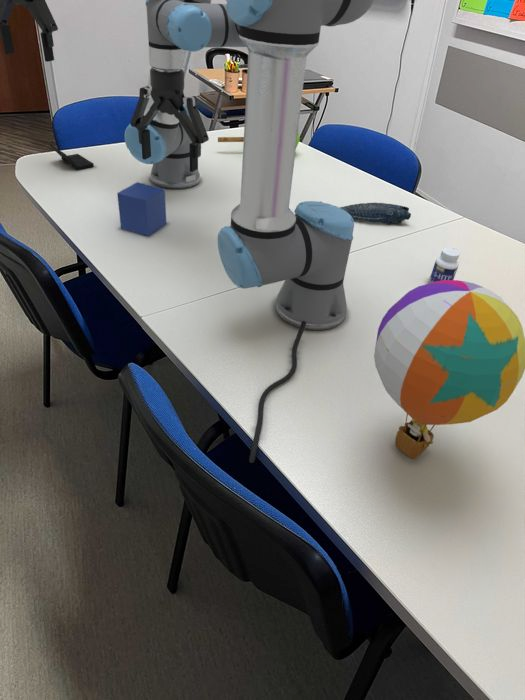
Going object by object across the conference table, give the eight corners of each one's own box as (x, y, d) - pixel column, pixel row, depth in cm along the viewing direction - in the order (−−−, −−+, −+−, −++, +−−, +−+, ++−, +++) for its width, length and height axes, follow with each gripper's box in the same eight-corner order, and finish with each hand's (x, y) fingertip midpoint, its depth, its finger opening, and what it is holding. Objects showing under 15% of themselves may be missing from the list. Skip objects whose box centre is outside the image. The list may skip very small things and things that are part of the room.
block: (166, 223, 140) (164, 189, 134) (148, 236, 134) (145, 200, 128) (139, 216, 143) (137, 182, 137) (120, 228, 136) (117, 193, 130)
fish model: (409, 228, 149) (414, 212, 146) (336, 220, 150) (339, 204, 147) (407, 219, 154) (411, 203, 151) (336, 211, 155) (339, 195, 152)
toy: (324, 440, 84) (359, 279, 65) (398, 390, 94) (447, 240, 76) (424, 525, 73) (502, 362, 54) (495, 458, 83) (581, 302, 65)
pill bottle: (427, 286, 124) (438, 253, 119) (429, 276, 128) (440, 244, 122) (450, 292, 123) (461, 259, 117) (451, 281, 127) (463, 249, 121)
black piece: (98, 159, 169) (76, 137, 160) (86, 177, 167) (64, 156, 159) (77, 155, 175) (55, 133, 167) (66, 172, 174) (43, 151, 165)
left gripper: (63, -35, 128) (76, 61, 141) (-16, -45, 134) (4, 48, 148) (41, -35, 122) (57, 66, 135) (-39, -46, 129) (-17, 51, 142)
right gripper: (224, 75, 114) (221, 170, 128) (130, 56, 121) (136, 148, 134) (208, 81, 109) (206, 180, 122) (109, 61, 116) (118, 156, 129)
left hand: (29, 57), depth 142 cm, fingers open, 13 cm apart
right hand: (170, 164), depth 128 cm, fingers open, 13 cm apart
